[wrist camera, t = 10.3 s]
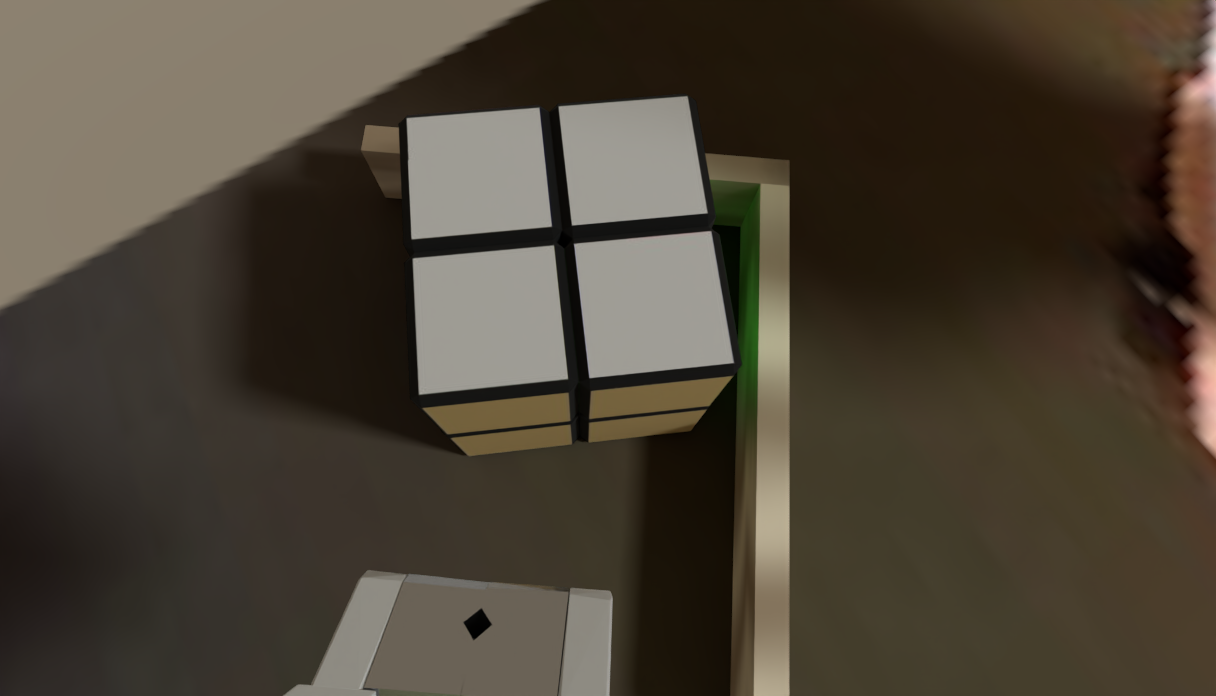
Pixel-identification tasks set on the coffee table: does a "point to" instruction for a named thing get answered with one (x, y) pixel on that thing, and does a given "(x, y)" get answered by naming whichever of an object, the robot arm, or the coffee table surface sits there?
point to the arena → (761, 503)
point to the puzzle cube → (563, 273)
